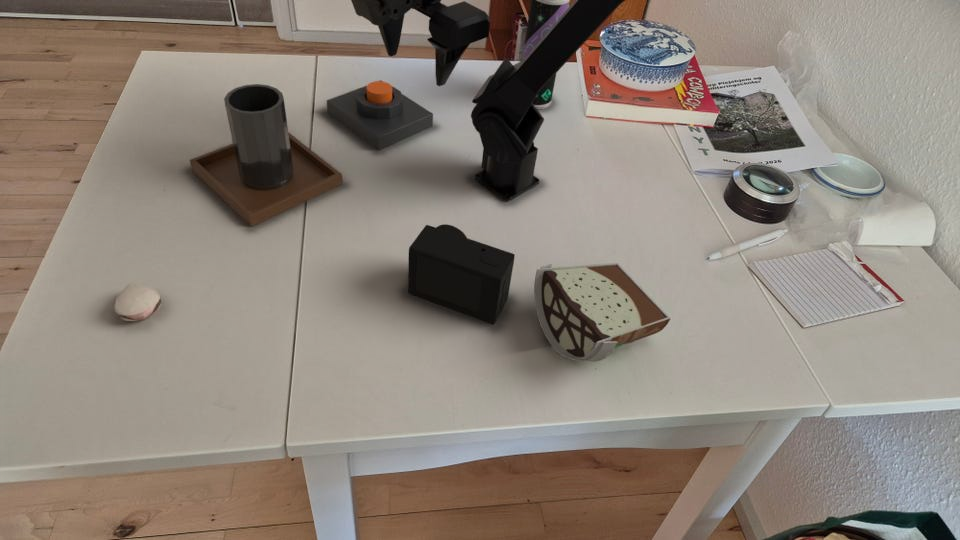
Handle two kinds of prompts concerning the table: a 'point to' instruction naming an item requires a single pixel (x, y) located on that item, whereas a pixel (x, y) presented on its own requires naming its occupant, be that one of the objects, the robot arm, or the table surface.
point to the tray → (263, 204)
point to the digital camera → (459, 272)
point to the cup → (260, 136)
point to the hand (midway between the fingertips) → (415, 69)
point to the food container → (593, 309)
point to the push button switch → (380, 117)
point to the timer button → (379, 92)
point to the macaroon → (137, 302)
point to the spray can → (543, 14)
